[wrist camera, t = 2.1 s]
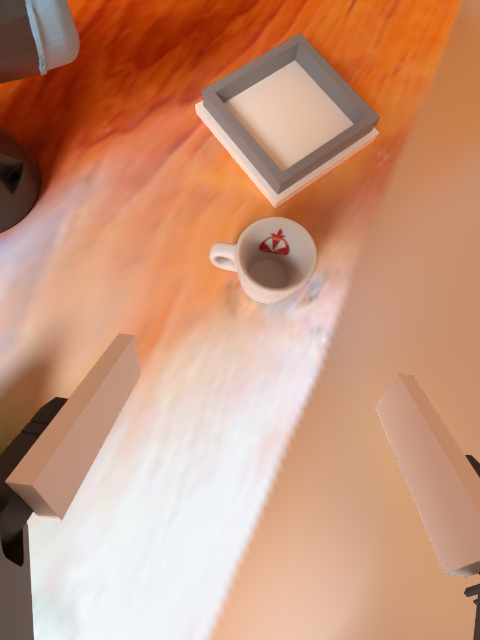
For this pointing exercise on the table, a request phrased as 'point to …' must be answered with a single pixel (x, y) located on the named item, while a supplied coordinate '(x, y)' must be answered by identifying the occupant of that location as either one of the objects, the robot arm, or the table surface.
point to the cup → (269, 258)
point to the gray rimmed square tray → (287, 118)
